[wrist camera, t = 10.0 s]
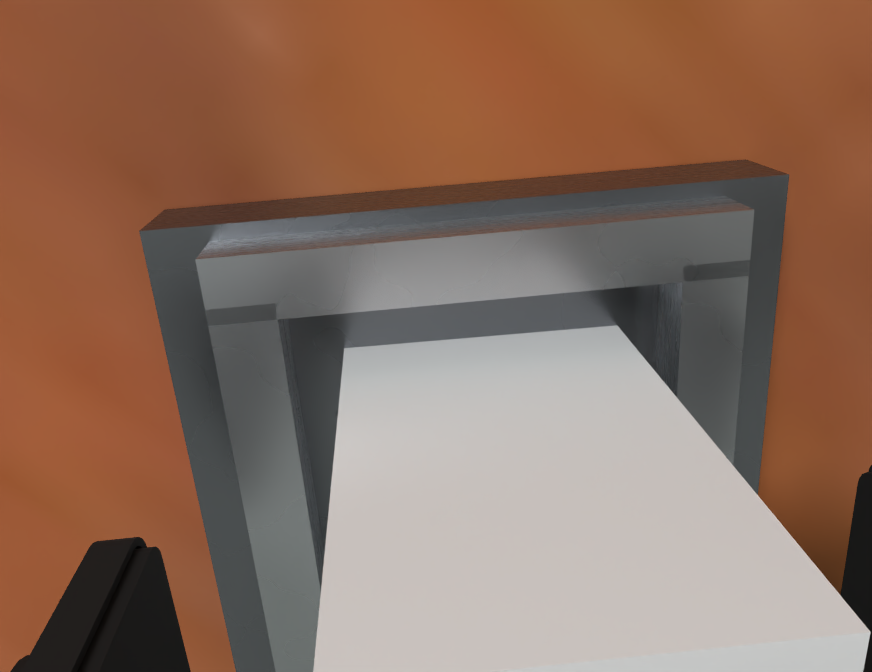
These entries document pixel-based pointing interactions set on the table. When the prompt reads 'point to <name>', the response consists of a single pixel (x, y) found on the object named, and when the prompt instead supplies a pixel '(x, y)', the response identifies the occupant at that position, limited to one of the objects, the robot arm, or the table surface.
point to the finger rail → (437, 333)
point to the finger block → (553, 523)
